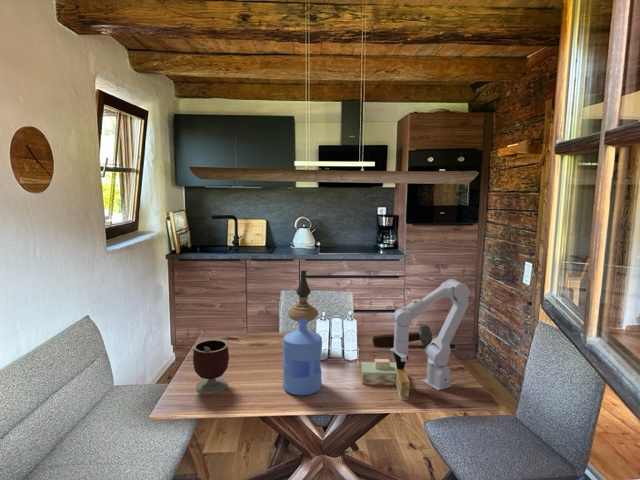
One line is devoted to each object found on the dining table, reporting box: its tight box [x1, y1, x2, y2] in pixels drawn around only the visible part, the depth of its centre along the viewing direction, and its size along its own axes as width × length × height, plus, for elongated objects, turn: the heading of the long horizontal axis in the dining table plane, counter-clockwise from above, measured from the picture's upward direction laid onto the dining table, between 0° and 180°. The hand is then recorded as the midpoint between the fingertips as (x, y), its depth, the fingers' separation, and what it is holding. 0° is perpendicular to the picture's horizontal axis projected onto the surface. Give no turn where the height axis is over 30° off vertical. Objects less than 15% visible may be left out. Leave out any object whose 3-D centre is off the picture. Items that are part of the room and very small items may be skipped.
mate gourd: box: [192, 339, 230, 395], centre depth 162 cm, size 16×14×20 cm
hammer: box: [372, 323, 433, 348], centre depth 209 cm, size 5×11×30 cm
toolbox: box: [360, 366, 410, 401], centre depth 166 cm, size 17×22×5 cm
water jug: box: [282, 319, 323, 396], centre depth 163 cm, size 16×16×28 cm
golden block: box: [397, 368, 411, 389], centre depth 159 cm, size 3×11×2 cm, turn 179°
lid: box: [360, 358, 397, 376], centre depth 172 cm, size 17×10×5 cm, turn 89°
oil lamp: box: [287, 270, 320, 330], centre depth 199 cm, size 15×15×40 cm
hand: (400, 371), depth 166 cm, fingers closed
